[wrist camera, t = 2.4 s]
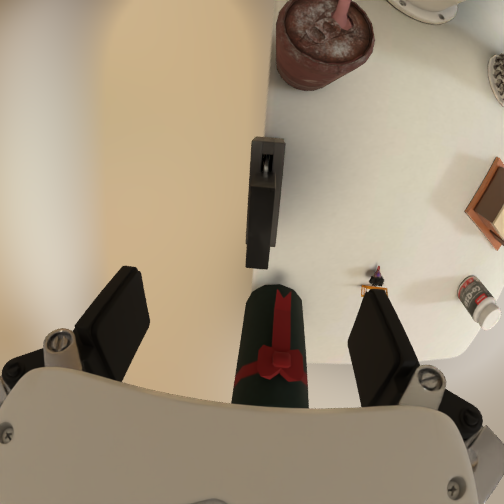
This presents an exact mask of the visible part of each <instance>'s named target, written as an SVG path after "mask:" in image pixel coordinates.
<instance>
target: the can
mask: <svg viewBox="0 0 504 504" xmlns="http://www.w3.org/2000/svg"><path fill="white" fill-rule="evenodd" d="M374 42H375V39H374V32H373V27H372V23H371V21H370V19H369V18H368V16H367V14H366V13H365V11H364V10H363V9H362V8H361V7H360V6H359V5H358V4H357V3H355V2H354V1H352V0H290V1H288V2H287V3H286V4H285V5H284V7H283V8H282V9H281V10H280V12H279V15H278V19H277V23H276V64H277V70H278V72H279V74H280V76H281V78H282V79H283V80H284V81H285V82H286V83H287V84H289V85H291V86H292V87H294V88H296V89H300V90H304V91H312V90H317V89H320V88H323V87H324V86H326V85H328V84H330V83H331V82H333V81H335V80H337V79H338V78H340V77H342V76H344V75H346V74H347V73H349V72H351V71H353V70H355V69H356V68H358V67H359V66H361V65H362V64H364V63H365V62H366V61H367V59H368V58H369V56H370V55H371V53H372V52H373V47H374Z"/></svg>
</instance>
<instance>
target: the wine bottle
mask: <svg viewBox="0 0 504 504" xmlns="http://www.w3.org/2000/svg"><path fill="white" fill-rule="evenodd" d="M306 365H307V364H306V349H305V335H304V322H303V310H302V300H301V299H300V297H299V296H298V295H297V293H296V292H295V291H294V290H293V289H290V288H288V287H285V286H283V285H280V284H279V285H264V286H262V287H260V288H259V289H257V290H255V291H253V292H252V293H251V295H250V297H249V298H248V300H247V302H246V307H245V314H244V321H243V328H242V335H241V341H240V349H239V355H238V362H237V368H236V375H235V381H234V388H233V396H232V402H231V404H240V405H250V406H262V407H278V408H306V409H309V405H308V404H309V403H308V384H307V383H308V382H307V366H306Z"/></svg>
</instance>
